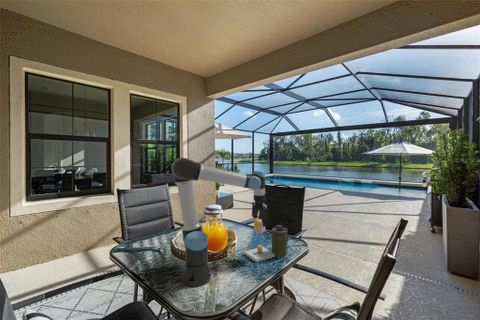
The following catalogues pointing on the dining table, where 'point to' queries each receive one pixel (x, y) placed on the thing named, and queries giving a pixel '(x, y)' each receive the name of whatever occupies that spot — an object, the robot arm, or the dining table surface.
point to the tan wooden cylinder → (257, 225)
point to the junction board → (259, 254)
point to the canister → (279, 241)
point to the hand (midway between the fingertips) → (259, 229)
